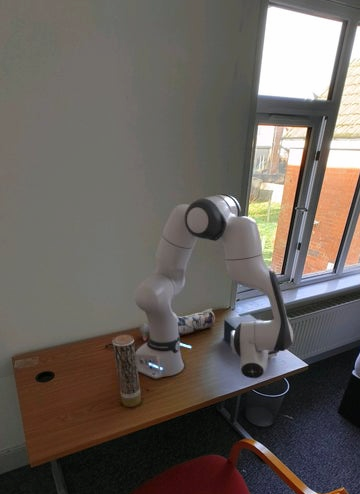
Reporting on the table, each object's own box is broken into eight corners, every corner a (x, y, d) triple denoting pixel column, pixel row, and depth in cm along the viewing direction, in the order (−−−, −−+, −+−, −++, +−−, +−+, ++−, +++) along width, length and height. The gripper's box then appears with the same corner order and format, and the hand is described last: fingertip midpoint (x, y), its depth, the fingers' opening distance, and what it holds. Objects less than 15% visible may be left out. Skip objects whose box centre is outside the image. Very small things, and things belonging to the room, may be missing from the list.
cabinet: (265, 347, 155) (267, 327, 150) (239, 353, 151) (240, 333, 146) (248, 333, 167) (249, 314, 162) (223, 338, 163) (224, 319, 158)
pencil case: (176, 340, 164) (175, 321, 159) (168, 333, 171) (167, 314, 166) (216, 328, 172) (217, 310, 167) (207, 322, 179) (207, 304, 174)
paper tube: (143, 396, 129) (135, 334, 116) (139, 408, 123) (131, 345, 110) (124, 395, 129) (115, 334, 117) (120, 407, 123) (109, 344, 111)
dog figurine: (168, 339, 165) (167, 318, 160) (140, 341, 165) (138, 320, 160) (168, 334, 170) (166, 313, 164) (141, 335, 170) (139, 315, 164)
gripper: (287, 342, 123) (287, 324, 135) (228, 337, 128) (233, 321, 140) (285, 357, 127) (285, 339, 138) (227, 352, 131) (232, 335, 143)
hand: (258, 330), depth 139 cm, fingers open, 8 cm apart
